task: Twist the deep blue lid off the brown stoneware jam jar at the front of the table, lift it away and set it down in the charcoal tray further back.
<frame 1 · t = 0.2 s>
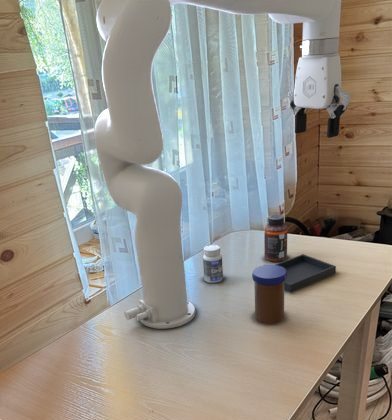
hand: (316, 134, 118), 31 cm above the table, tool pointing down, fingers open, 9 cm apart
supplement bottle: (275, 258, 138), on the table
jar: (269, 317, 111), on the table
jar lid: (269, 273, 105), point 10 cm above the table, screwed on, not yet turned
pill bottle: (213, 280, 129), on the table
tray: (296, 275, 127), on the table
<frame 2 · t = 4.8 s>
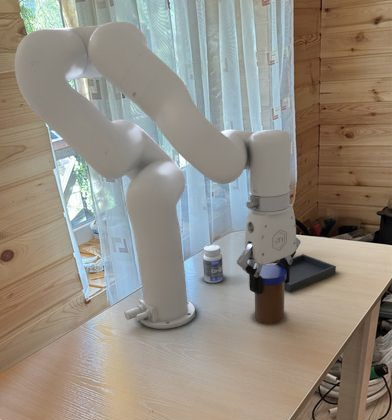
hand: (269, 286, 107), 7 cm above the table, tool pointing down, fingers closed on jar lid, 6 cm apart
jar lid: (269, 273, 105), point 10 cm above the table, screwed on, not yet turned, touching gripper
everything else where it was.
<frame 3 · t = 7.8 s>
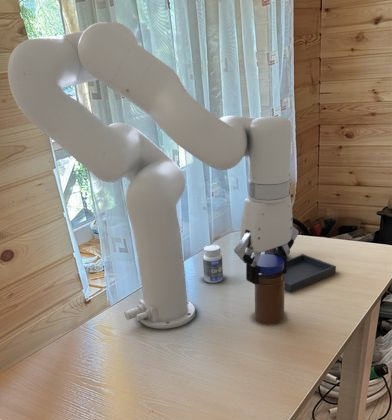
hand: (266, 276, 106), 10 cm above the table, tool pointing down, fingers closed on jar lid, 6 cm apart
jar lid: (267, 262, 104), point 13 cm above the table, off its thread, touching gripper
everything else where it was.
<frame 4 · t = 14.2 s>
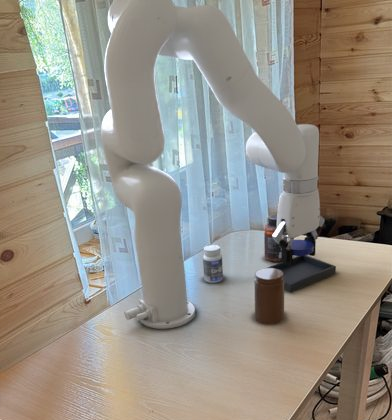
hand: (298, 258, 125), 5 cm above the table, tool pointing down, fingers closed on jar lid, 6 cm apart
jar lid: (298, 246, 123), point 8 cm above the table, off its thread, touching gripper
everything else where it was.
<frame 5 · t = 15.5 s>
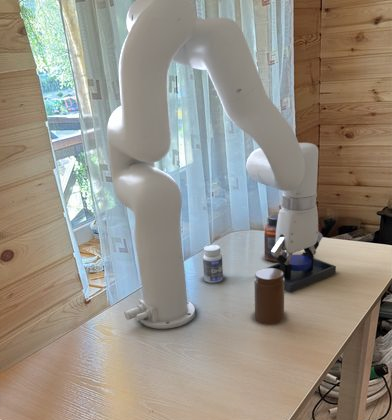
hand: (296, 273, 127), 1 cm above the table, tool pointing down, fingers closed on jar lid, 6 cm apart
jar lid: (297, 261, 125), point 4 cm above the table, off its thread, touching gripper
everything else where it was.
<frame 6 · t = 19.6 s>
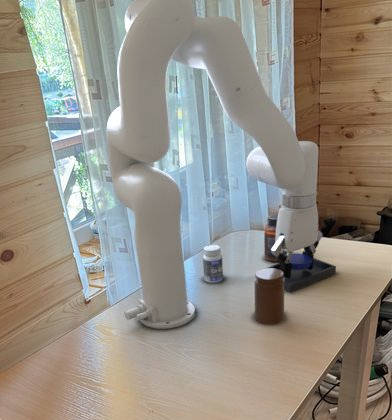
hand: (296, 271, 126), 1 cm above the table, tool pointing down, fingers closed on jar lid, 6 cm apart
jar lid: (297, 260, 125), point 4 cm above the table, off its thread, touching gripper
everything else where it was.
when the fingers open (1 cm above the table, at t = 23.7 s): jar lid drops 3 cm, resting on tray.
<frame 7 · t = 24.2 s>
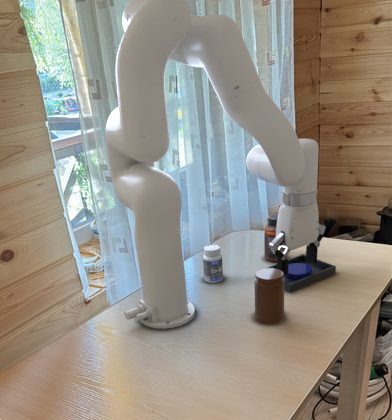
hand: (297, 267, 126), 2 cm above the table, tool pointing down, fingers open, 9 cm apart
jar lid: (297, 270, 126), point 2 cm above the table, off its thread, touching tray
everything else where it was.
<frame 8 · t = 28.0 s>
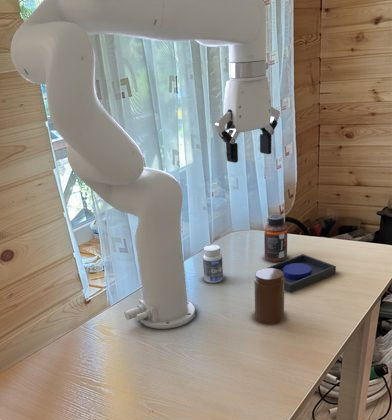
hand: (249, 157, 115), 28 cm above the table, tool pointing down, fingers open, 9 cm apart
nothing on the table moved.
at the end: jar lid came off its thread; jar lid inside the target area on the tray (0.1 cm from its centre), point 1.6 cm above the tray's base; the gripper is holding nothing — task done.
